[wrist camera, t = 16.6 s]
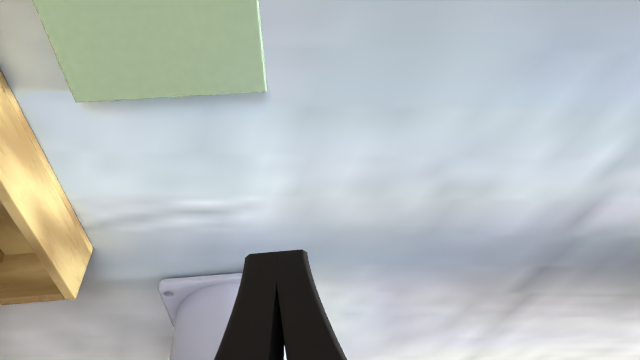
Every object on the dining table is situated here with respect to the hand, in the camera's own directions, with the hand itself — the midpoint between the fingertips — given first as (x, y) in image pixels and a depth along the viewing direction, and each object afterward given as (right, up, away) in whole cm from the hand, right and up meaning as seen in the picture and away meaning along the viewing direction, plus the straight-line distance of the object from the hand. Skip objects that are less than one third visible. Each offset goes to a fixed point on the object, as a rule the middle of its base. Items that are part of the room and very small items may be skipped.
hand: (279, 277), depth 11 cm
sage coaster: (-1, +9, +5) cm, 10 cm away
